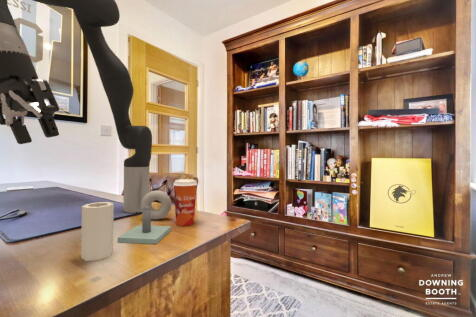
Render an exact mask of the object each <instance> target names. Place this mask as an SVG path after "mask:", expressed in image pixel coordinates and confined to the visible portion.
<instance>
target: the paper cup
mask: <svg viewBox="0 0 476 317" xmlns="http://www.w3.org/2000/svg"><path fill="white" fill-rule="evenodd" d="M198 185H199V183H198V181H197V179H191V178H189V179H188V178H186V179H185V178H183V179H182V178H181V179H175V181H174V183H173V188H174V191H173V192H174V207H175V208H174V210H175V211H174V212H175V213H174V214H175V224H176V226H179V227H189V226H192V225H194V223H195V213H196V211H195V210H196V199H197V188H198V187H197V186H198Z"/></svg>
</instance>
